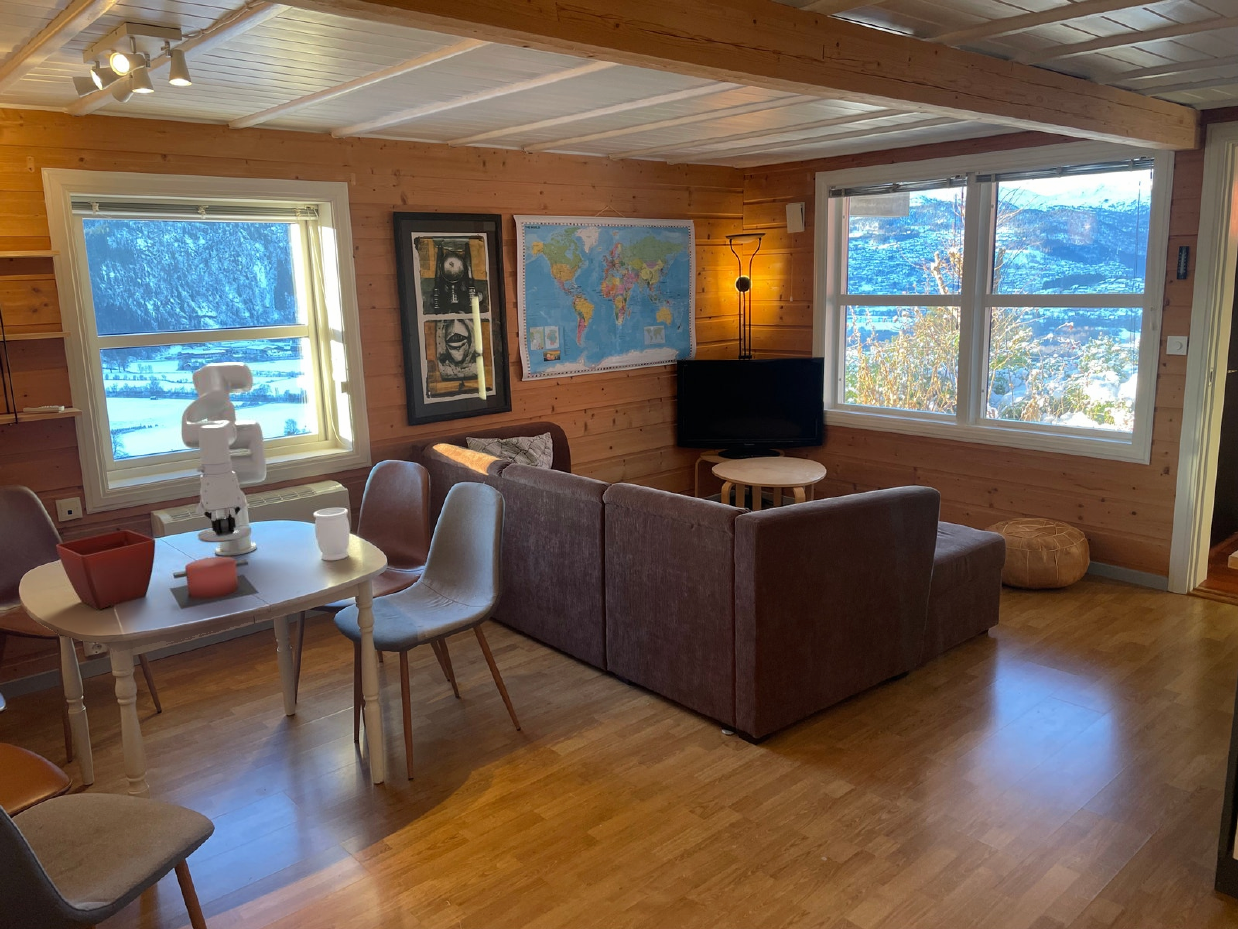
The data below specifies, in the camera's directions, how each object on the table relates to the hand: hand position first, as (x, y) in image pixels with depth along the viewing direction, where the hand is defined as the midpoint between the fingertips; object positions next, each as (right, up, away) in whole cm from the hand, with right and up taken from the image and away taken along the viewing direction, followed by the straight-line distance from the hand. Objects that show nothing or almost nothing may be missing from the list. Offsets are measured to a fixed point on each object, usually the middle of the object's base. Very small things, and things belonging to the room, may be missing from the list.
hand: (224, 531), depth 257 cm
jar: (+22, -11, +30) cm, 39 cm away
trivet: (-3, -17, 0) cm, 18 cm away
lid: (0, -1, 0) cm, 1 cm away
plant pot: (-29, -19, -3) cm, 35 cm away
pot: (-3, -17, 0) cm, 17 cm away
